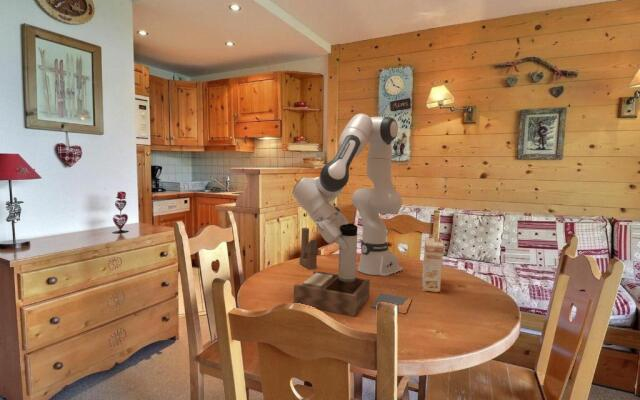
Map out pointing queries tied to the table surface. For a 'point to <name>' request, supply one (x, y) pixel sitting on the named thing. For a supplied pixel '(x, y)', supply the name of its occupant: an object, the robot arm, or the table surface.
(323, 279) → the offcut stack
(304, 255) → the brown wooden handled piece
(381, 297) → the rubber mat
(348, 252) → the travel mug
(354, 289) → the walnut rack
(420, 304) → the table surface
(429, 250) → the coffeecake box
